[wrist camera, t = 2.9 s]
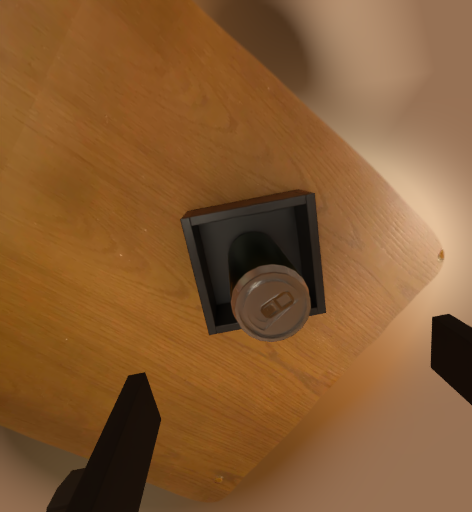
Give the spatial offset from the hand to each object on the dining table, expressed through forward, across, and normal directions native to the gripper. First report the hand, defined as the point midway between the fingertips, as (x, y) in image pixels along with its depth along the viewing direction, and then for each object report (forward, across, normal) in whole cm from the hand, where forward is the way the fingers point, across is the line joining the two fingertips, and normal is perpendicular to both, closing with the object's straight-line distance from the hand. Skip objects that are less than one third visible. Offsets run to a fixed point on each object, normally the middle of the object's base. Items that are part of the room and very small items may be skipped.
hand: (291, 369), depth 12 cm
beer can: (+18, 0, 0) cm, 18 cm away
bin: (+18, 0, 0) cm, 18 cm away
